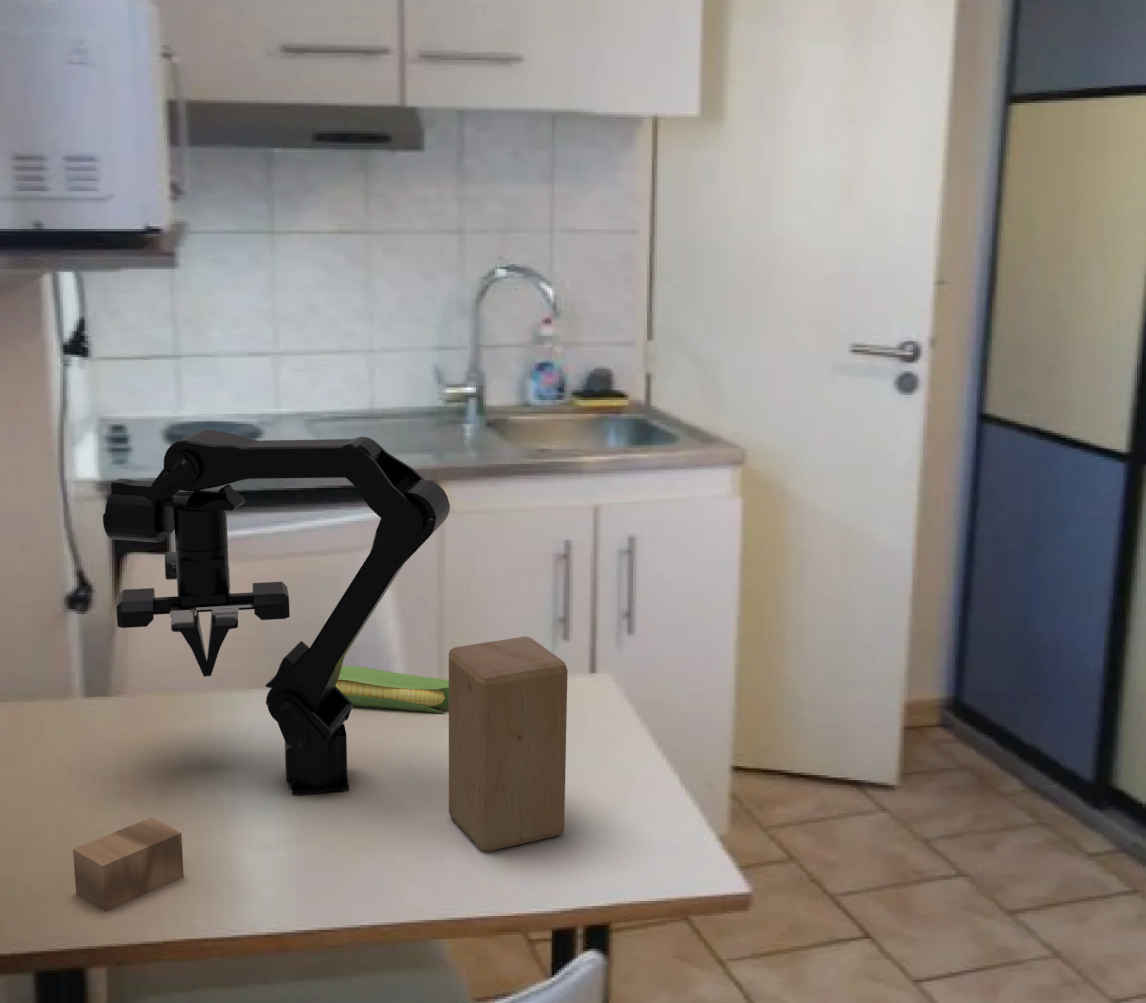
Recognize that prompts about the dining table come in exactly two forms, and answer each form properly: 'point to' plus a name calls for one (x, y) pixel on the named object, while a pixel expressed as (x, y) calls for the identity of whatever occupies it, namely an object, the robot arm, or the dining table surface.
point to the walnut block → (128, 863)
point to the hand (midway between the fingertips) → (207, 675)
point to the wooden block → (507, 742)
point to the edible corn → (392, 689)
